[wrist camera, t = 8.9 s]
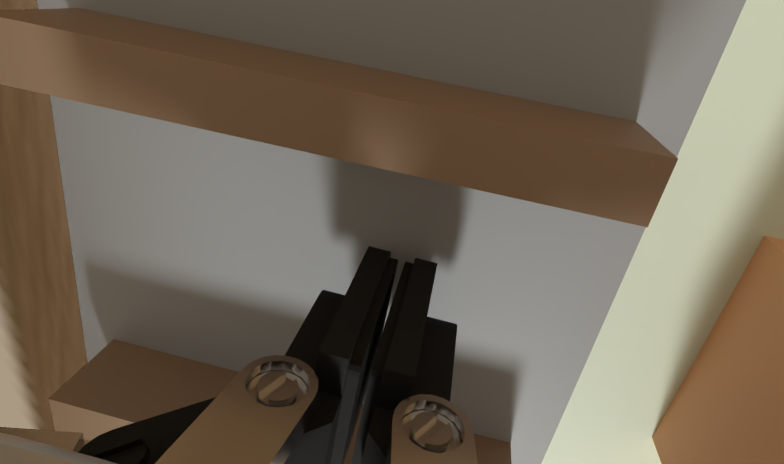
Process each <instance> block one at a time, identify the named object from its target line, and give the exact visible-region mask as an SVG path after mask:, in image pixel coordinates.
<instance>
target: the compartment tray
mask: <svg viewBox="0 0 784 464" xmlns="http://www.w3.org/2000/svg"><path fill="white" fill-rule="evenodd" d="M37 5H38V9H32V10H3V11H0V85H5V86H9V87H14V88H19V89H23V90H28V91H32V92H37V93H41V94H46V95H50V99H51V106H52V113H53V120H54V127H55V135H56V142H57V149H58V156H59V163H60V171H61V178H62V185H63V192H64V199H65V206H66V214H67V221H68V228H69V235H70V242H71V250H72V257H73V264H74V271H75V278H76V285H77V293H78V300H79V307H80V314H81V321H82V329H83V336H84V343H85V350H86V357H87V364H86V365H85V366H84V367H83V368H82V369H80V370H79V371H78V372H77V373H76V374H75V375H74V376H73V377H72V378H71V379H70V380H68V381H67V382H66V383H65V384H64V385H63V386H62V387H61V388H60V389H59V390H58V391H57V392H55V393H54V394H53V395H52V396H51V397H50V398H49V399H48V400H49V405H50V410H51V415H52V420H53V425H54V431H65V432H79V433H83V437H84V440H93V439H94V438H96V437H97V436H99V435H101V434H104V433H106V432H108V431H111V430H113V429H116V428H119V427H122V426H126V425H129V424H132V423H135V422H138V421H142V420H145V419H148V418H151V417H154V416H157V415H161V414H164V413H167V412H170V411H173V410H176V409H180V408H183V407H186V406H189V405H192V404H196V403H199V402H202V401H205V400H208V399H211V398H215V397H217V396H218V395H219V394H220V393H221V392H222V391H223V390H224V388H225V387H226V386H227V385H228V384H229V383H230V382H231V381H232V380H233V379H234V378H235V377H236V376H237V374H238V373H239V372H240V371H241V370H242V369H243V368H244V367H246V366H247V365H248V364H249V363H251V362H252V361H255V360H257V359H259V358H262V357H266V356H272V355H283V356H285V354H286V352H287V350H288V349H289V347H290V345H291V343H292V341H293V340H294V338H295V336H296V334H297V333H298V331H299V329H300V327H301V326H302V324H303V322H304V320H305V319H306V317H307V315H308V313H309V312H310V310H311V308H312V306H313V305H314V303H315V301H316V299H317V298H318V296H319V294H320V293H321V291H322V290H327V291H331V292H334V293H338V294H342V295H345V294H346V292H347V290H348V288H349V286H350V284H351V282H352V280H353V278H354V276H355V274H356V272H357V269H358V267H359V265H360V263H361V261H362V259H363V257H364V255H365V253H366V251H367V249H368V247H369V246H371V247H375V248H379V249H383V250H387V251H391V257H390V258H394V259H398V264H397V269H396V274H395V278H394V283H393V287H392V292H391V296H390V301H389V305H388V310H387V315H386V319H385V323H386V320H387V317H388V314H389V311H390V307H391V304H392V301H393V298H394V295H395V292H396V289H397V285H398V282H399V279H400V276H401V273H402V270H403V267H404V263H405V261H406V262H410V263H414V261H415V258H419V259H423V260H427V261H431V262H435V263H437V268H436V274H435V279H434V284H433V289H432V294H431V299H430V304H429V309H428V314H427V317H431V318H435V319H439V320H443V321H447V322H451V323H455V324H457V336H456V346H455V356H454V366H453V376H452V387H451V397H450V402H452V403H454V404H455V405H456V406H457V407H458V408H460V409H461V410H462V411H463V412H464V413H465V415H466V416H467V418H468V419H469V421H470V423H471V426H472V429H473V433H474V439H475V446H476V453H477V460H478V464H661V461H660V458H659V455H658V453H657V450H656V447H655V444H654V442H653V439H652V436H653V434H654V432H655V431H656V429H657V427H658V425H659V423H660V422H661V420H662V418H663V416H664V414H665V413H666V411H667V409H668V407H669V405H670V404H671V402H672V400H673V398H674V396H675V395H676V393H677V391H678V389H679V387H680V386H681V384H682V382H683V380H684V379H685V377H686V375H687V373H688V371H689V370H690V368H691V366H692V364H693V362H694V361H695V359H696V357H697V355H698V353H699V352H700V350H701V348H702V346H703V344H704V343H705V341H706V339H707V337H708V335H709V334H710V332H711V330H712V328H713V326H714V325H715V323H716V321H717V319H718V317H719V316H720V314H721V312H722V310H723V308H724V307H725V305H726V303H727V301H728V300H729V298H730V296H731V294H732V292H733V291H734V289H735V287H736V285H737V283H738V282H739V280H740V278H741V276H742V274H743V273H744V271H745V269H746V267H747V265H748V264H749V262H750V260H751V258H752V256H753V255H754V253H755V251H756V249H757V247H758V246H759V244H760V242H761V240H762V238H763V237H764V236H768V237H773V238H778V239H783V240H784V0H37ZM384 326H385V324H384ZM383 329H384V328H383ZM365 396H366V394H365ZM364 400H365V397H364ZM363 405H364V401H363V404H362V407H361V410H360V413H359V417H358V420H357V423H356V426H355V429H354V433H353V436H352V439H351V442H350V445H349V449H348V452H347V455H346V458H345V462H344V464H351V461H352V456H353V451H354V447H355V442H356V437H357V433H358V428H359V424H360V419H361V414H362V410H363Z"/></svg>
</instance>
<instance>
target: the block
mask: <svg viewBox="0 0 784 464" xmlns="http://www.w3.org/2000/svg"><path fill="white" fill-rule="evenodd" d="M652 439H653V442H654V444H655V447H656V450H657V453H658V455H659V458H660V461H661V464H784V240H783V239H778V238H773V237H768V236H764V237H763V238H762V240H761V242H760V244H759V246H758V247H757V249H756V251H755V253H754V255H753V256H752V258H751V260H750V262H749V264H748V265H747V267H746V269H745V271H744V273H743V274H742V276H741V278H740V280H739V282H738V283H737V285H736V287H735V289H734V291H733V292H732V294H731V296H730V298H729V300H728V301H727V303H726V305H725V307H724V308H723V310H722V312H721V314H720V316H719V317H718V319H717V321H716V323H715V325H714V326H713V328H712V330H711V332H710V334H709V335H708V337H707V339H706V341H705V343H704V344H703V346H702V348H701V350H700V352H699V353H698V355H697V357H696V359H695V361H694V362H693V364H692V366H691V368H690V370H689V371H688V373H687V375H686V377H685V379H684V380H683V382H682V384H681V386H680V387H679V389H678V391H677V393H676V395H675V396H674V398H673V400H672V402H671V404H670V405H669V407H668V409H667V411H666V413H665V414H664V416H663V418H662V420H661V422H660V423H659V425H658V427H657V429H656V431H655V432H654V434H653V436H652Z"/></svg>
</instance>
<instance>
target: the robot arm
mask: <svg viewBox="0 0 784 464" xmlns="http://www.w3.org/2000/svg"><path fill="white" fill-rule="evenodd" d="M390 257H391V251H387V250H383V249H379V248H375V247H371V246H369V247H368V249H367V251H366V253H365V255H364V257H363V259H362V261H361V263H360V265H359V267H358V269H357V272H356V274H355V276H354V278H353V280H352V282H351V284H350V286H349V288H348V290H347V292H346V294H345V295H342V294H338V293H334V292H331V291H327V290H322V291H321V293H320V294H319V296H318V298H317V299H316V301H315V303H314V305H313V306H312V308H311V310H310V312H309V313H308V315H307V317H306V319H305V320H304V322H303V324H302V326H301V327H300V329H299V331H298V333H297V334H296V336H295V338H294V340H293V341H292V343H291V345H290V347H289V349H288V350H287V352H286V354H285V356H283V355H272V356H266V357H262V358H259V359H257V360H255V361H252V362H251V363H249V364H248V365H247V366H246V367H244V368H243V369H242V370H241V371H240V372H239V373H238V374H237V376H236V377H235V378H234V379H233V380H232V381H231V382H230V383H229V384H228V385H227V386H226V387H225V388H224V390H223V391H222V392H221V393H220V394H219V395H218V396H217V397H215V398H211V399H208V400H205V401H202V402H199V403H196V404H192V405H189V406H186V407H183V408H180V409H176V410H173V411H170V412H167V413H164V414H161V415H157V416H154V417H151V418H148V419H145V420H142V421H138V422H135V423H132V424H129V425H126V426H122V427H119V428H116V429H113V430H111V431H108V432H106V433H104V434H101V435H99V436H97V437H96V438H94V439H93V440H84V437H83V433H79V432H65V431H50V430H36V429H20V428H6V427H0V464H344V462H345V458H346V455H347V452H348V449H349V445H350V442H351V439H352V436H353V433H354V429H355V426H356V423H357V420H358V417H359V413H360V410H361V407H362V404H363V401H364V405H363V410H362V414H361V419H360V424H359V428H358V433H357V437H356V442H355V447H354V451H353V456H352V461H351V464H478V460H477V453H476V446H475V439H474V433H473V429H472V426H471V423H470V421H469V419H468V418H467V416H466V415H465V413H464V412H463V411H462V410H461V409H460V408H458V407H457V406H456V405H455V404H454V403H452V402H450V397H451V387H452V376H453V366H454V356H455V346H456V336H457V324H455V323H451V322H447V321H443V320H439V319H435V318H431V317H427V314H428V309H429V304H430V299H431V294H432V289H433V284H434V279H435V274H436V268H437V263H435V262H431V261H427V260H423V259H419V258H415V261H414V263H410V262H406V261H405V263H404V267H403V270H402V273H401V276H400V279H399V282H398V285H397V289H396V292H395V295H394V298H393V301H392V304H391V307H390V311H389V314H388V317H387V320H386V323H385V319H386V315H387V310H388V305H389V301H390V296H391V292H392V287H393V283H394V278H395V274H396V269H397V264H398V259H394V258H390ZM384 324H385V326H384ZM383 328H384V329H383ZM365 394H366V396H365ZM364 397H365V400H364Z"/></svg>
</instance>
